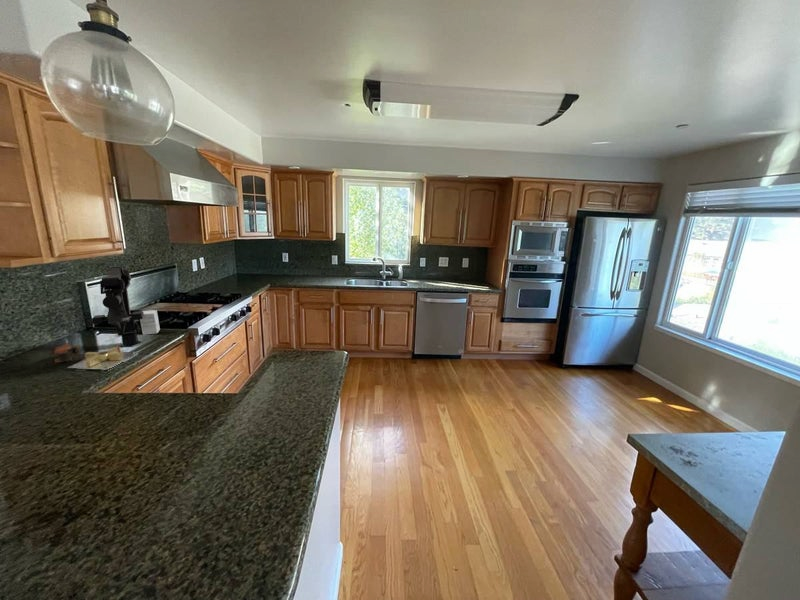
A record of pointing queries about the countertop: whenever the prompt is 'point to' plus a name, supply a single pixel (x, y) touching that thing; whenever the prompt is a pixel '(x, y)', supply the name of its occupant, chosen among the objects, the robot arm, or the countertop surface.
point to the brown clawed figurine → (65, 352)
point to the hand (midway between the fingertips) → (122, 334)
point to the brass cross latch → (102, 356)
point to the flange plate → (105, 362)
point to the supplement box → (150, 322)
